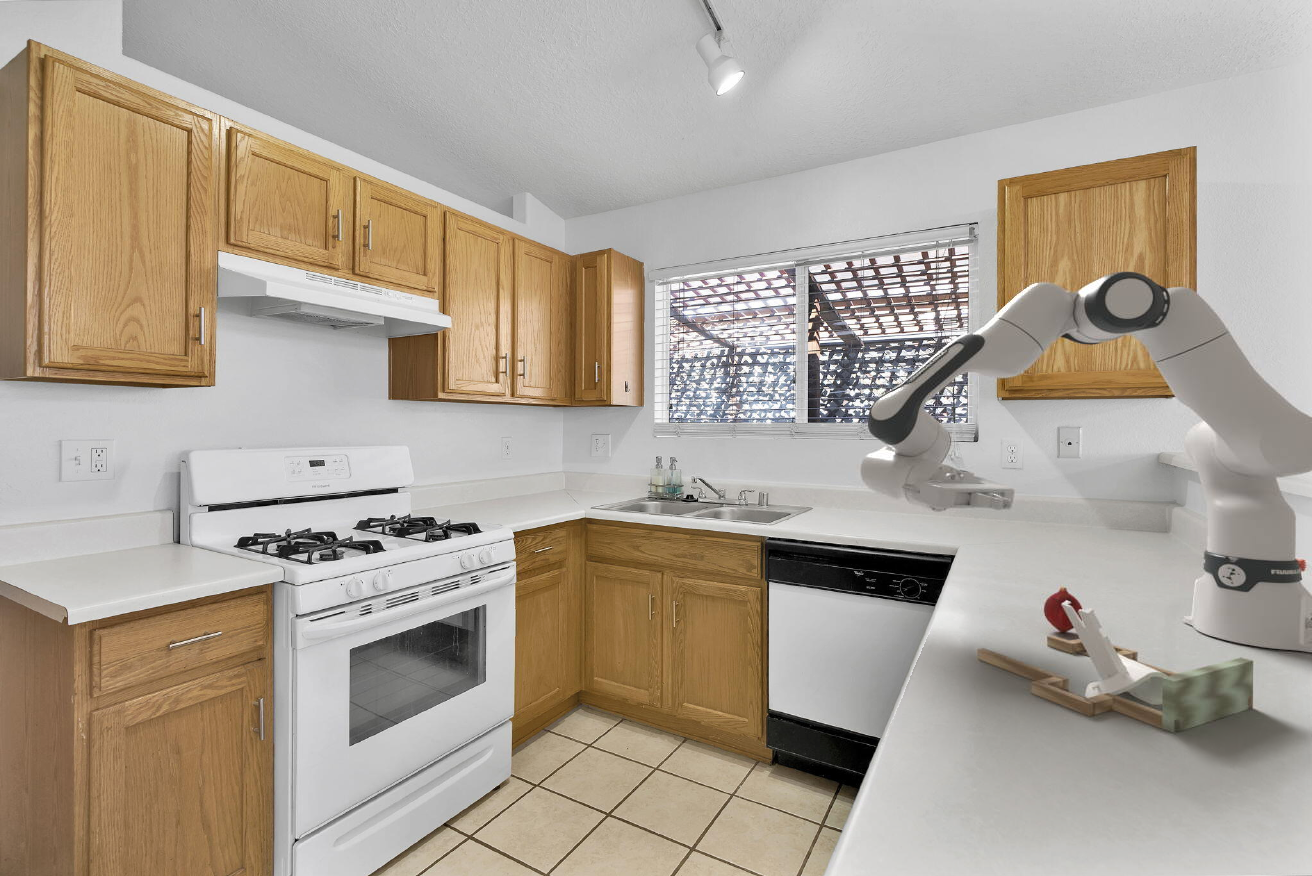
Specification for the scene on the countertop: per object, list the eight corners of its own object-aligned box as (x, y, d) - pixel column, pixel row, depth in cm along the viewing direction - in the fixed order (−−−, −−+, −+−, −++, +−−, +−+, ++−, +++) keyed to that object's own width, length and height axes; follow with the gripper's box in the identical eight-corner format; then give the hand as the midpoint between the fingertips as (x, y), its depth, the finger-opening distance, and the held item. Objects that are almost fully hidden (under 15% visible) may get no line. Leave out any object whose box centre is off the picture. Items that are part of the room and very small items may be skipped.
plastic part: (1173, 705, 79) (1174, 615, 79) (1099, 706, 79) (1101, 615, 79) (1125, 682, 87) (1126, 599, 87) (1057, 682, 86) (1059, 599, 86)
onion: (1089, 639, 105) (1090, 592, 105) (1052, 636, 106) (1052, 590, 106) (1073, 628, 111) (1074, 584, 111) (1038, 626, 112) (1038, 582, 112)
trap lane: (1069, 641, 104) (1070, 605, 104) (1271, 701, 80) (1271, 655, 80) (956, 663, 93) (956, 623, 93) (1150, 740, 70) (1151, 687, 70)
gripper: (898, 468, 109) (969, 486, 97) (972, 471, 119) (1045, 487, 107) (893, 503, 110) (962, 525, 98) (967, 503, 119) (1038, 522, 107)
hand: (1006, 505), depth 102 cm, fingers closed
